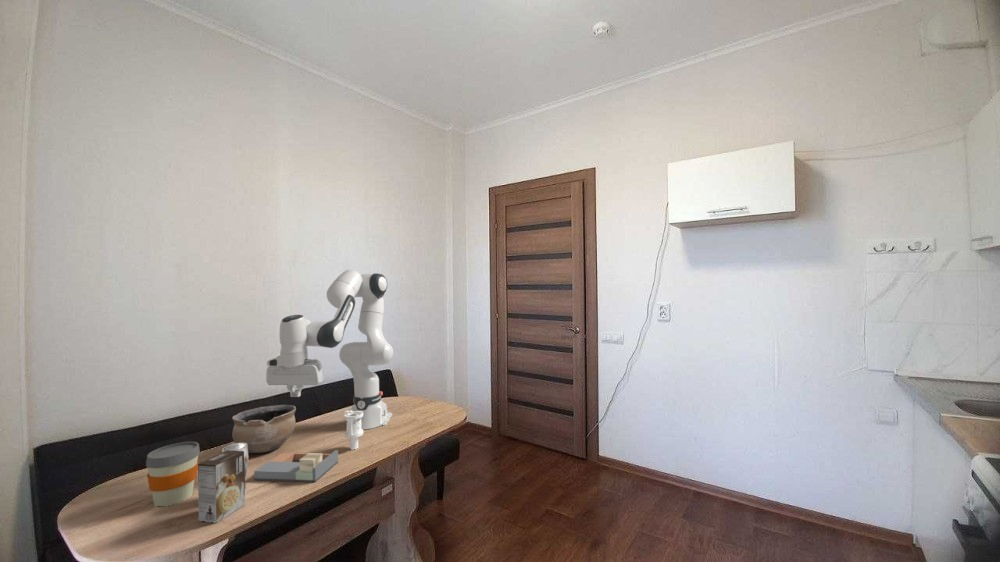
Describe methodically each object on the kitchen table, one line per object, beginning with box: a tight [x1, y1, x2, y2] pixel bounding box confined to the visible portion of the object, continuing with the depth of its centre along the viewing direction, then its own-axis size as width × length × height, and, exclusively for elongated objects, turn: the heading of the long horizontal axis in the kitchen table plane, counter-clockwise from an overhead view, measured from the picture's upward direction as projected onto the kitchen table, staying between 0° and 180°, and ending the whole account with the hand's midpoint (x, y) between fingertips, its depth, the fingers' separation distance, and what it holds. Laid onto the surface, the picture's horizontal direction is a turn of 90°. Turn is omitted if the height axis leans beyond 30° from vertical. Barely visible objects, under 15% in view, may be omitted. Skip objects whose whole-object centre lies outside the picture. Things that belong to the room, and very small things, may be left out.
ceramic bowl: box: [231, 404, 297, 454], centre depth 150 cm, size 22×22×15 cm
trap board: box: [253, 449, 339, 483], centre depth 130 cm, size 14×22×4 cm, turn 84°
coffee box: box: [197, 450, 246, 524], centre depth 106 cm, size 9×6×16 cm
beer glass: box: [221, 442, 249, 495], centre depth 115 cm, size 7×7×15 cm
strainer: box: [343, 410, 364, 451], centre depth 148 cm, size 7×7×15 cm
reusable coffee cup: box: [145, 441, 201, 507], centre depth 114 cm, size 12×13×15 cm
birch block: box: [300, 452, 323, 472], centre depth 126 cm, size 5×5×4 cm
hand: (295, 396), depth 136 cm, fingers closed
